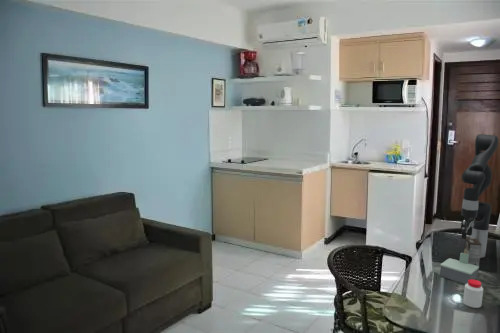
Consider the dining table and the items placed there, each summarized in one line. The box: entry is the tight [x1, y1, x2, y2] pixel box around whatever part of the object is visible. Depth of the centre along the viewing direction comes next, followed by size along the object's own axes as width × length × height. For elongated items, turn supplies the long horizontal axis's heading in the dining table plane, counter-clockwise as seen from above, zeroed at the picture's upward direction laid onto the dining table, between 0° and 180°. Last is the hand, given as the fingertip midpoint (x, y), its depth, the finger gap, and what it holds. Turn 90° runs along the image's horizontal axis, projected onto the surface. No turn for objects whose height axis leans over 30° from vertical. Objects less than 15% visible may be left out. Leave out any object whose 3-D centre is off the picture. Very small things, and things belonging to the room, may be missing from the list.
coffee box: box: [463, 237, 482, 270], centre depth 237 cm, size 9×6×16 cm
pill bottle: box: [462, 279, 484, 309], centre depth 198 cm, size 8×8×11 cm
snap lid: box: [440, 252, 480, 275], centre depth 225 cm, size 12×15×7 cm
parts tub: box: [439, 266, 479, 285], centre depth 226 cm, size 12×15×6 cm
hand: (466, 236), depth 226 cm, fingers open, 8 cm apart
